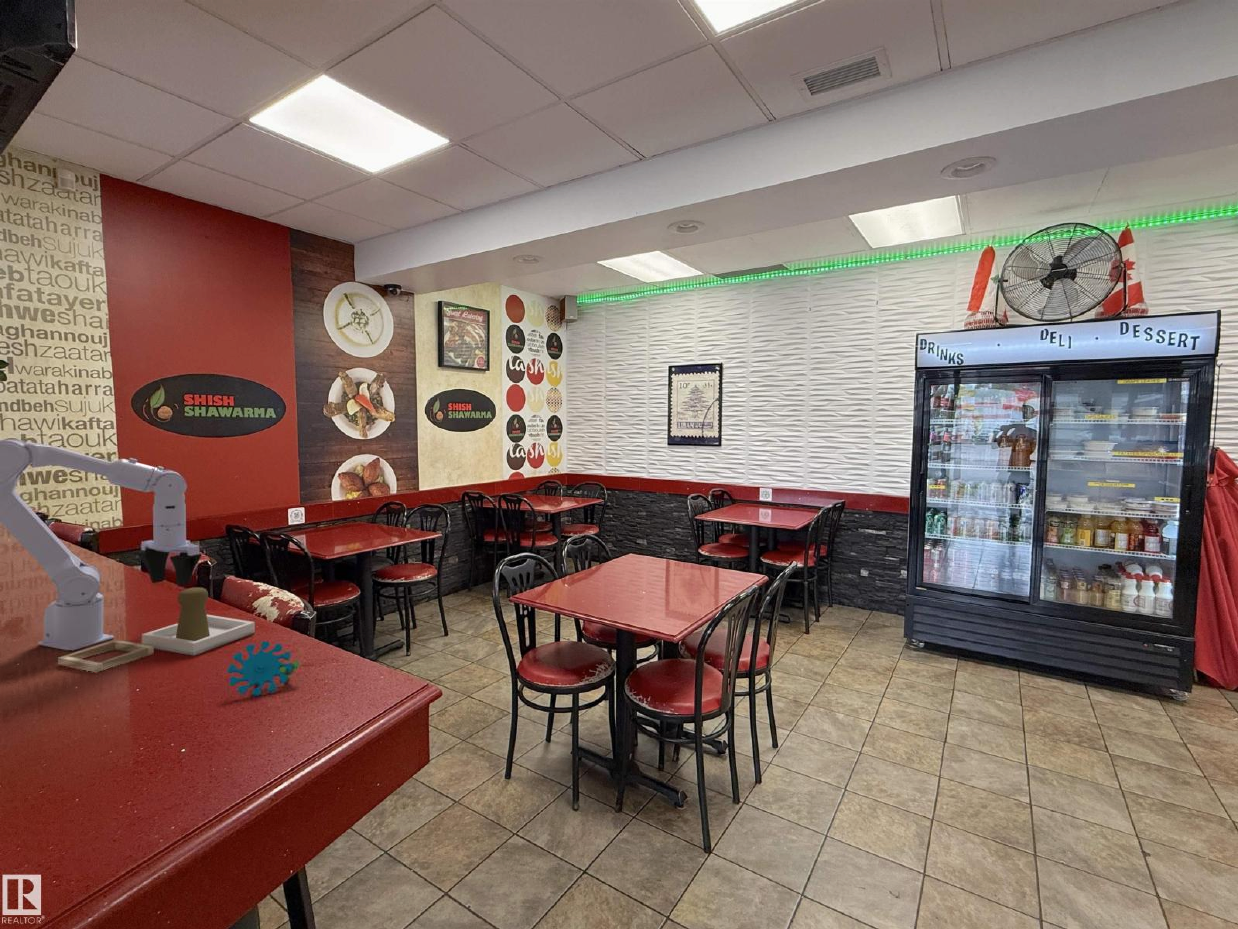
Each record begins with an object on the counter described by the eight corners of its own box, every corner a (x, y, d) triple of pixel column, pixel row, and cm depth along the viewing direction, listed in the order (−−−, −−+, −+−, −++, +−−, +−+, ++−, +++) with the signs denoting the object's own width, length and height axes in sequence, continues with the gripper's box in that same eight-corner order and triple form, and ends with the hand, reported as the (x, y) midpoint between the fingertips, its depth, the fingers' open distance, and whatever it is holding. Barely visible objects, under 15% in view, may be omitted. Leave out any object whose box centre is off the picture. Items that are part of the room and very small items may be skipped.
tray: (141, 646, 116) (141, 634, 116) (206, 625, 130) (206, 614, 130) (193, 655, 113) (193, 643, 113) (254, 633, 126) (254, 622, 126)
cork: (192, 645, 116) (192, 593, 116) (167, 642, 117) (167, 591, 117) (217, 635, 122) (217, 586, 122) (193, 632, 123) (193, 583, 123)
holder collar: (57, 665, 106) (57, 657, 106) (116, 646, 115) (116, 639, 115) (96, 673, 103) (96, 665, 103) (153, 653, 113) (153, 646, 113)
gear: (221, 694, 94) (233, 639, 101) (220, 708, 98) (232, 654, 104) (296, 691, 100) (303, 639, 106) (292, 704, 103) (299, 653, 110)
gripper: (212, 524, 127) (212, 582, 128) (163, 519, 131) (164, 576, 132) (180, 529, 121) (181, 590, 121) (130, 524, 124) (132, 583, 125)
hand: (170, 583), depth 126 cm, fingers open, 7 cm apart
